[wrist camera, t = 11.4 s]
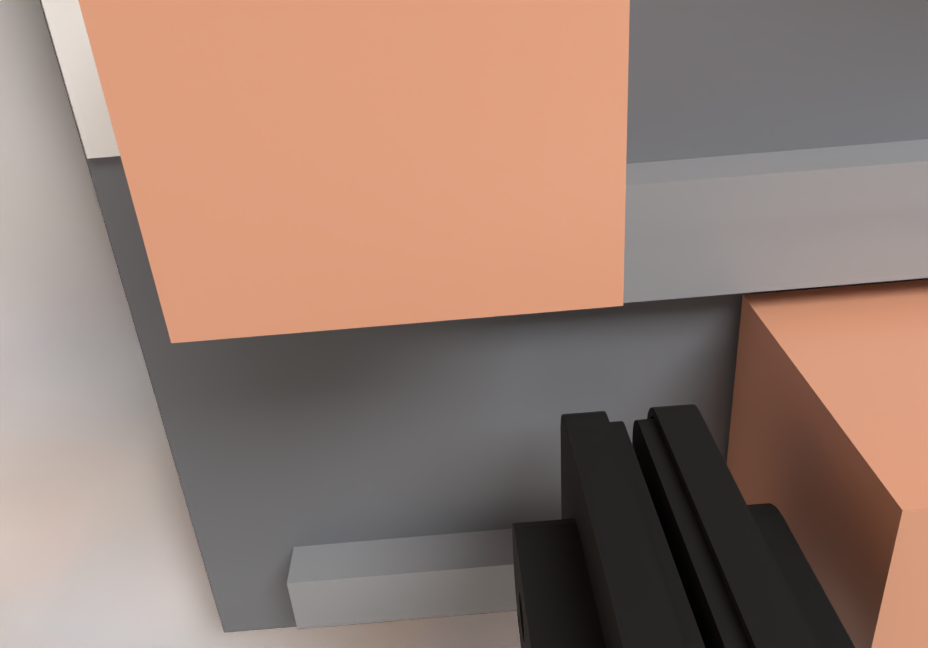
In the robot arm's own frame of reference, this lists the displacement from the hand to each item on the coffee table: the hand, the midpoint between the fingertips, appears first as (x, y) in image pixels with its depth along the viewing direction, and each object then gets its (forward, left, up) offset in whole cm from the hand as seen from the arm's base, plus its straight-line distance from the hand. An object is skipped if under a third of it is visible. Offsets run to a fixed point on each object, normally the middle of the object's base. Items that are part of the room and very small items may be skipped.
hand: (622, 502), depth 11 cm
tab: (-6, -2, -2) cm, 7 cm away
